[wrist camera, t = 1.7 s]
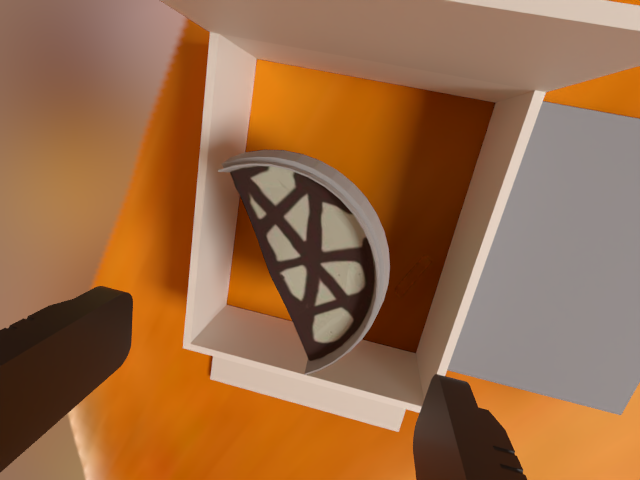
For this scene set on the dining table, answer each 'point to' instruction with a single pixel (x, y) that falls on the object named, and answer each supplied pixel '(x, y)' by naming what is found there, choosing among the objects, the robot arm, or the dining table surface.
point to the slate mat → (564, 267)
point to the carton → (396, 68)
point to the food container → (316, 247)
